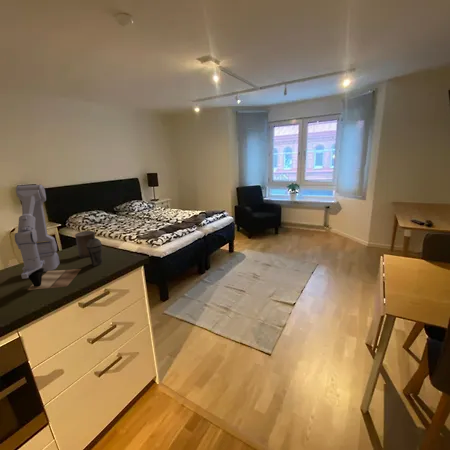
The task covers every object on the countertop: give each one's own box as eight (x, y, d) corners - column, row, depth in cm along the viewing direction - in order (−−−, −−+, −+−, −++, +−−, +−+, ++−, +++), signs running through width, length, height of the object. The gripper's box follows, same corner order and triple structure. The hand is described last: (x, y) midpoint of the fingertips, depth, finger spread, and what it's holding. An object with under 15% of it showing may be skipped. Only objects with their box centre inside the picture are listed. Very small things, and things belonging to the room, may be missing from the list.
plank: (48, 273, 125) (47, 270, 125) (66, 272, 126) (66, 270, 126) (27, 291, 108) (27, 289, 108) (49, 290, 109) (48, 288, 109)
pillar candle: (100, 254, 149) (96, 230, 145) (84, 259, 141) (80, 234, 137) (91, 251, 154) (87, 227, 150) (75, 256, 146) (70, 232, 142)
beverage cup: (87, 265, 133) (81, 230, 128) (101, 261, 138) (96, 227, 133) (93, 270, 129) (86, 233, 123) (107, 265, 134) (101, 230, 128)
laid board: (67, 272, 127) (66, 269, 126) (82, 270, 128) (81, 268, 127) (50, 290, 110) (49, 287, 109) (67, 288, 111) (67, 286, 110)
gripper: (30, 251, 113) (36, 278, 117) (9, 265, 100) (17, 295, 103) (47, 250, 114) (53, 277, 118) (29, 263, 101) (36, 293, 105)
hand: (37, 285), depth 111 cm, fingers closed, pressing on plank
